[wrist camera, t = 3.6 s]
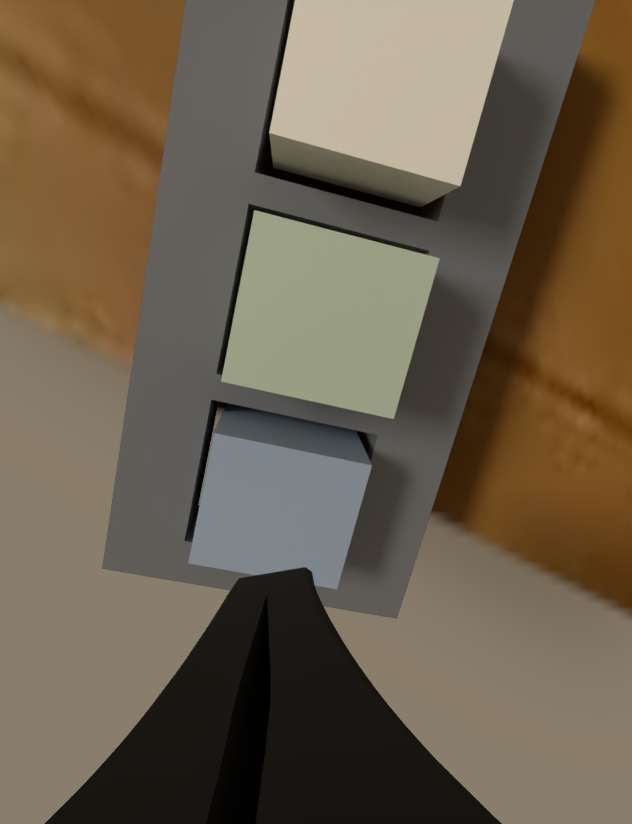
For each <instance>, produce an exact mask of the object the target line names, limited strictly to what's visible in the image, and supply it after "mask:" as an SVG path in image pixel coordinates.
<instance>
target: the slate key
mask: <svg viewBox="0 0 632 824" xmlns="http://www.w3.org/2000/svg"><path fill="white" fill-rule="evenodd" d="M371 467H372V464H371V462H370V460H369V458H368V456H367V453H366V451H365V449H364V447H363V445H362V442H361V440H360V438H359V436H358V434H357V432H356V430H352V429H347V428H342V427H338V426H333V425H328V424H324V423H319V422H314V421H309V420H305V419H300V418H295V417H291V416H286V415H281V414H277V413H272V412H267V411H263V410H258V409H253V408H249V407H244V406H239V405H234V404H230V403H227V406H226V408H225V410H224V412H223V414H222V416H221V418H220V421H219V423H218V425H217V427H216V429H215V431H214V434H213V439H212V444H211V450H210V455H209V460H208V465H207V470H206V475H205V480H204V486H203V491H202V496H201V501H200V506H199V511H198V516H197V521H196V526H195V531H194V537H193V542H192V547H191V552H190V557H189V562H188V563H189V564H194V565H200V566H206V567H212V568H217V569H223V570H229V571H235V572H240V573H246V574H252V575H261V574H267V573H273V572H278V571H284V570H290V569H296V568H302V567H306V568H307V569H309V570H310V571H312V574H313V580H314V585H315V586H321V587H327V588H332V589H337V588H338V584H339V581H340V577H341V573H342V570H343V566H344V563H345V559H346V556H347V552H348V549H349V545H350V542H351V538H352V535H353V531H354V527H355V524H356V520H357V517H358V513H359V510H360V506H361V503H362V499H363V496H364V492H365V489H366V485H367V481H368V478H369V474H370V471H371Z"/></svg>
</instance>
